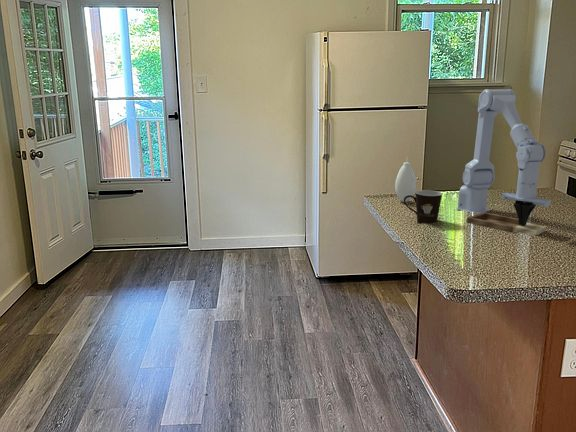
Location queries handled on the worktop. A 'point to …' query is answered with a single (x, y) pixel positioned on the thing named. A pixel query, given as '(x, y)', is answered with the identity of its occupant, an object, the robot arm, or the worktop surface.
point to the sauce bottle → (405, 182)
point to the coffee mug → (426, 205)
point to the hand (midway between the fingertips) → (522, 224)
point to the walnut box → (494, 221)
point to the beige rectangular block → (530, 229)
